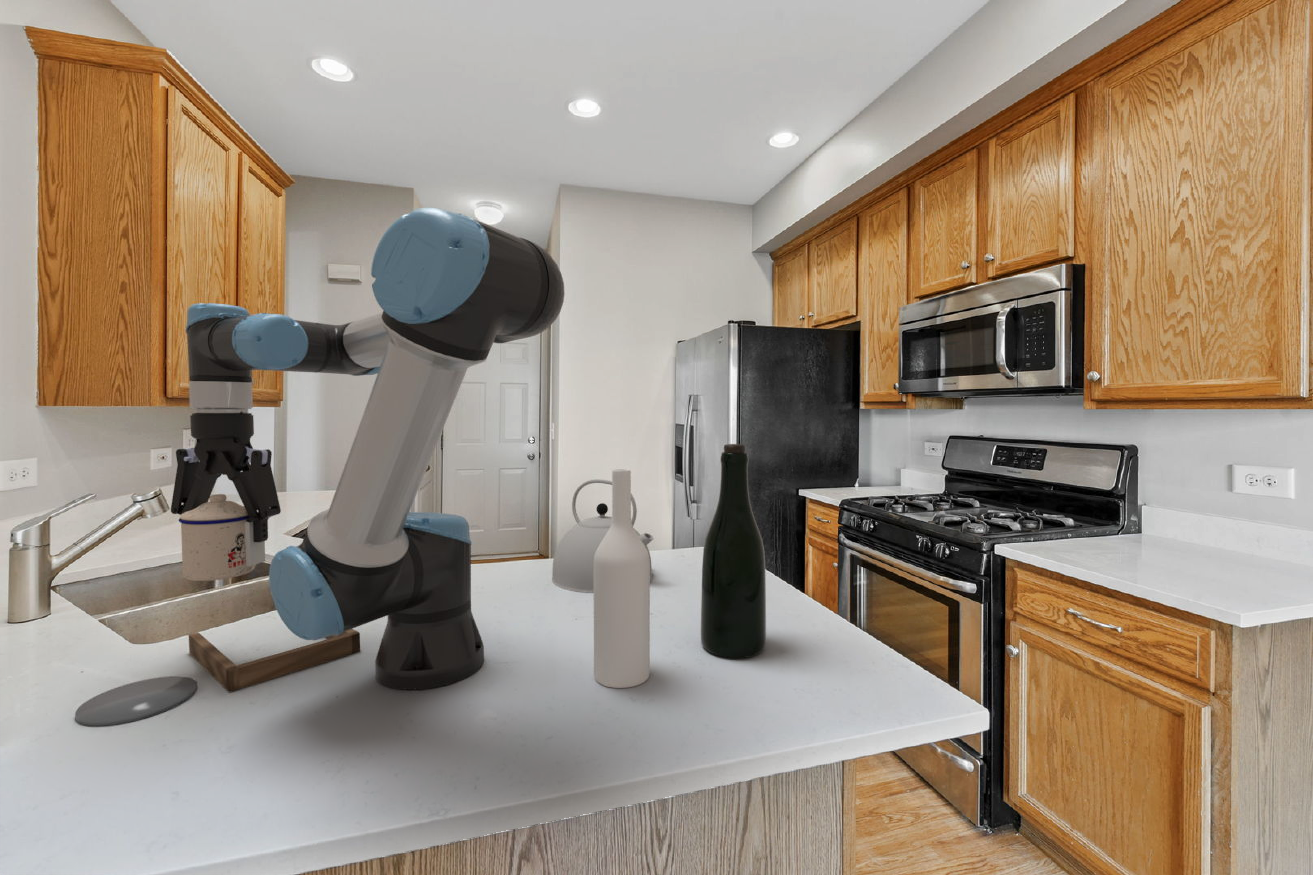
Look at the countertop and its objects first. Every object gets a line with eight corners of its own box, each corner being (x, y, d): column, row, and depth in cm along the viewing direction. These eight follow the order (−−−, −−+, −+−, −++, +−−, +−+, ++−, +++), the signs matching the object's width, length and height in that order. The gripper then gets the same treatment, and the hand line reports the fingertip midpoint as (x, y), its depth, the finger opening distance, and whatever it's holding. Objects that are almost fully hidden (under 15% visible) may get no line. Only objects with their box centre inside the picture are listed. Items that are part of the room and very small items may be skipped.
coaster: (208, 698, 78) (208, 694, 78) (83, 737, 69) (83, 732, 69) (184, 672, 86) (184, 668, 86) (69, 704, 77) (68, 700, 77)
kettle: (679, 575, 136) (679, 478, 135) (622, 602, 117) (622, 490, 116) (594, 559, 150) (593, 471, 148) (530, 582, 130) (529, 481, 129)
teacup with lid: (241, 580, 84) (239, 499, 83) (166, 584, 81) (163, 500, 81) (274, 558, 95) (273, 487, 94) (210, 561, 93) (208, 488, 92)
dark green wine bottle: (687, 646, 95) (688, 444, 94) (727, 629, 103) (728, 441, 101) (739, 666, 88) (741, 447, 86) (778, 646, 95) (780, 444, 94)
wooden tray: (360, 651, 93) (359, 632, 93) (229, 692, 80) (228, 670, 80) (309, 621, 106) (308, 605, 106) (189, 652, 93) (188, 634, 92)
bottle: (638, 659, 90) (638, 465, 89) (657, 682, 83) (658, 471, 81) (587, 668, 87) (586, 467, 86) (602, 692, 80) (601, 473, 78)
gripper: (307, 411, 89) (310, 558, 90) (182, 410, 92) (187, 552, 93) (267, 412, 82) (272, 572, 83) (133, 410, 85) (140, 565, 86)
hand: (227, 561), depth 88 cm, fingers closed on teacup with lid, 9 cm apart
